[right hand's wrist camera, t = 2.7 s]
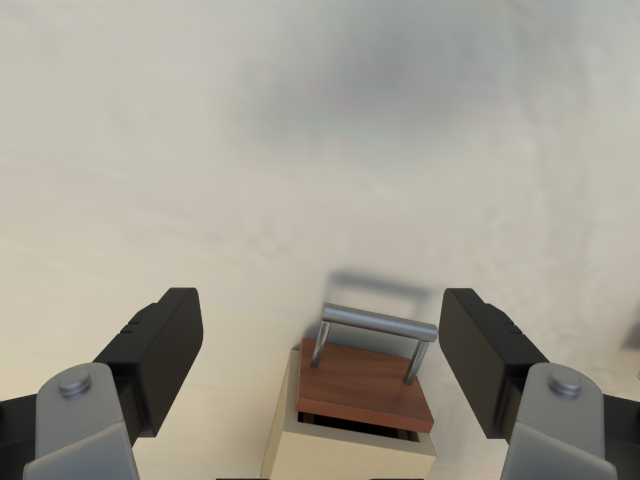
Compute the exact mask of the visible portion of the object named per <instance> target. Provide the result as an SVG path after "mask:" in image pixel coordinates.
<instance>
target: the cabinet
mask: <svg viewBox="0 0 640 480" xmlns="http://www.w3.org/2000/svg"><path fill="white" fill-rule="evenodd" d="M298 362H299V350H294V349H292V350H291V353H290V357H289V361H288V365H287V368H286V372H285V376H284V380H283V384H282V388H281V392H280V396H279V400H278V404H277V408H276V412H275V416H274V420H273V424H272V428H271V432H270V436H269V440H268V444H267V448H266V452H265V456H264V460H263V464H262V468H261V473H260V479H270V480H370V479H424V480H426V478H427V476H428V474H429V472H430V470H431V468H432V466H433V464H434V462H435V460H436V458H437V456H436V453H435V450H434V447H433V445H432V442H431V439H430V436H429V434H427V433H422V432H416V431H410V430H406V432H407V436H408V439H409V441H407V440H401V439H395V438H389V437H383V436H378V435H372V434H366V433H360V432H354V431H348V430H342V429H336V428H330V427H325V426H319V425H313V424H307V423H301V422H298V411H296V410H295V405H296V391H297V377H298Z"/></svg>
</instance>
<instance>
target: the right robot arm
mask: <svg viewBox="0 0 640 480" xmlns="http://www.w3.org/2000/svg"><path fill="white" fill-rule="evenodd" d="M438 334H439V343H440V347H441V349H442V351H443V353H444V355H445V357H446V359H447V361H448V363H449V365H450V367H451V369H452V371H453V373H454V375H455V377H456V379H457V381H458V383H459V385H460V387H461V389H462V391H463V392H464V394H465V396H466V398H467V400H468V402H469V404H470V406H471V408H472V410H473V412H474V414H475V416H476V418H477V420H478V422H479V424H480V426H481V428H482V430H483V431H484V433H485V435H486V437H487V439H506V441H507V443H508V445H509V447H508V451H507V455H506V459H505V462H504V466H503V470H502V474H501V478H500V480H640V402H636V401H632V400H627V399H623V398H618V397H614V396H609V395H605V394H602V392H601V390H600V389H599V387H598V386H597V385H596V384H595V383H594V382H593V381H592V380H590V379H589V378H588V377H586V376H585V375H583V374H581V373H580V372H578V371H576V370H574V369H571V368H569V367H566V366H563V365H559V364H555V363H550V362H549V360H548V359H547V358H546V357H545V356H544V355H543V354H542V353H541V352H540V351H539V350H538V349H537V347H536V346H535V345H534V344H533V343H532V342H531V341H530V340H529V339H528V338H527V337H526V335H525V334H522V331H521V330H520V329H519V328H518V327H517V326H516V325H514V322H513V321H512V320H511V319H510V318H509V317H508V316H507V315H506V314H505V313H504V312H503V311H501V310H499V309H498V308H496V307H494V306H493V305H491V304H485V303H484V302H483V301H482V299H481V298H480V297H479V296H478V295H477V294H476V292H475V291H474V290H473V289H471V288H447V289H446V290H445V292H444V296H443V302H442V309H441V316H440V323H439V332H438ZM202 341H203V324H202V317H201V310H200V303H199V296H198V292H197V289H196V288H170V289H169V290H168V291H167V292H166V293H165V294H164V295H163V297H162V298H161V299H160V300H159V301H158V302H157V303H152V304H150V305H148V306H147V307H145V308H143V309H142V310H140V311H139V312H137V313H136V315H135V316H134V317H133V318H132V319H131V320H130V321H129V322H128V325H125V327H124V328H123V329H122V330H121V331H120V334H117V335H116V336H115V338H114V339H113V340H112V341H111V342H110V343H109V344H108V345H107V346H106V347H105V348H104V350H103V351H102V352H101V353H100V354H99V355H98V356H97V357H96V358H95V359H94V361H93V362H92V363H85V364H81V365H77V366H74V367H71V368H69V369H66V370H64V371H62V372H60V373H59V374H57V375H55V376H54V377H52V378H51V379H50V380H48V381H47V382H46V383H45V384H44V385H43V386H42V387H41V389H40V390H39V392H38V394H33V395H28V396H24V397H19V398H15V399H10V400H6V401H1V402H0V480H140V478H139V474H138V470H137V466H136V462H135V459H134V455H133V451H132V447H133V445H134V443H135V442H136V440H137V438H138V437H156V435H157V433H158V431H159V429H160V428H161V426H162V424H163V422H164V420H165V418H166V416H167V414H168V412H169V410H170V408H171V406H172V404H173V402H174V400H175V398H176V396H177V394H178V392H179V390H180V388H181V386H182V384H183V382H184V380H185V378H186V376H187V374H188V372H189V370H190V368H191V366H192V364H193V362H194V360H195V358H196V356H197V354H198V352H199V350H200V348H201V346H202ZM216 480H270V479H216ZM370 480H424V479H370Z"/></svg>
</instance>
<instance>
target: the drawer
mask: <svg viewBox="0 0 640 480" xmlns="http://www.w3.org/2000/svg"><path fill="white" fill-rule="evenodd" d="M321 320H322V323H321V326H320V330H319V334H318V337H317V341H314V340H309V339H302V341H301V345H300V349H299V362H298V377H297V391H296V405H295V410H296V411H298V422H301V423H307V424H313V425H319V426H325V427H330V428H336V429H342V430H348V431H354V432H360V433H366V434H372V435H378V436H383V437H389V438H395V439H401V440H407V441H409V439H408V436H407V432H406V430H410V431H416V432H422V433H427V434H429V433H430V431H431V428H432V426H433V424H434V420H433V417H432V415H431V412H430V409H429V407H428V404H427V402H426V399H425V396H424V394H423V391H422V389H421V386H420V383H419V381H418V378H417V376H416V374H417V371H418V369H419V366H420V364H421V362H422V359H423V357H424V354H425V352H426V350H427V347H428V345H429V342H434V341H435V340H436V338H437V334H438V331H437V327H436V326H435V325H433V324H428V323H423V322H418V321H413V320H408V319H403V318H398V317H394V316H389V315H384V314H379V313H374V312H369V311H364V310H359V309H354V308H349V307H344V306H339V305H335V304H330V303H324V304H323V307H322V311H321ZM331 322H333V323H338V324H343V325H348V326H353V327H358V328H363V329H368V330H373V331H378V332H383V333H388V334H393V335H398V336H403V337H408V338H413V339H418V340H419V341H418V344H417V346H416V349H415V351H414V354H413V356H412V359H411V360H410V359H407V358H402V357H397V356H392V355H387V354H381V353H376V352H371V351H366V350H361V349H355V348H350V347H345V346H340V345H335V344H329V343H325V341H326V338H327V335H328V331H329V328H330V324H331Z"/></svg>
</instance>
